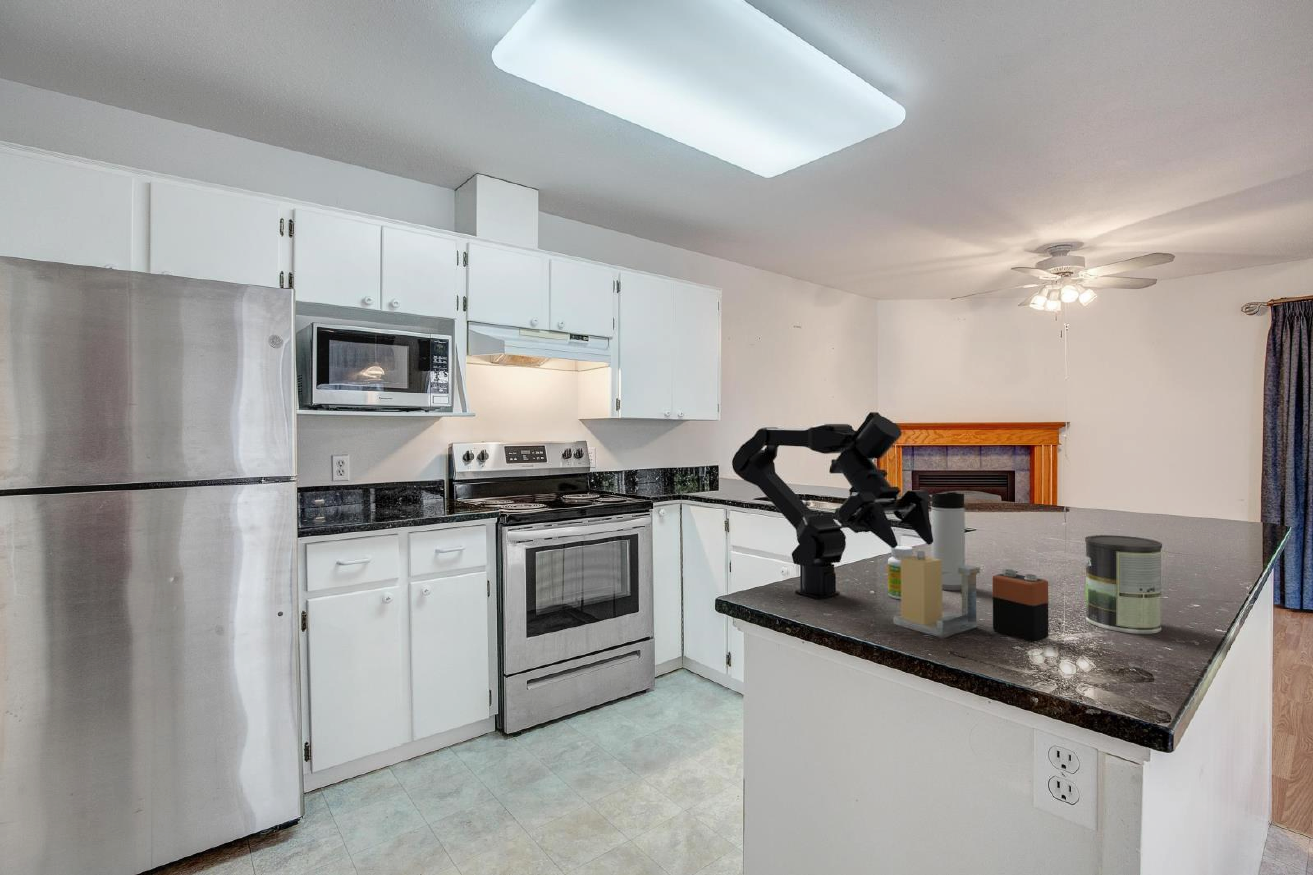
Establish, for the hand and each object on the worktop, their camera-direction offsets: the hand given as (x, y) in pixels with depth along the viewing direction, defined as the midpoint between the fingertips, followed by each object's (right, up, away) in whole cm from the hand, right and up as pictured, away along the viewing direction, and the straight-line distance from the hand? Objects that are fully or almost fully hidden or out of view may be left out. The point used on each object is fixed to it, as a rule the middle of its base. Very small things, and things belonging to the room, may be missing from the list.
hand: (913, 545), depth 107 cm
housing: (+1, -12, -2) cm, 12 cm away
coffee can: (+34, -13, -2) cm, 37 cm away
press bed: (+3, -13, -1) cm, 14 cm away
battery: (+14, -13, -6) cm, 21 cm away
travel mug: (+17, -13, +24) cm, 32 cm away
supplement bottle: (+5, -13, +17) cm, 22 cm away
